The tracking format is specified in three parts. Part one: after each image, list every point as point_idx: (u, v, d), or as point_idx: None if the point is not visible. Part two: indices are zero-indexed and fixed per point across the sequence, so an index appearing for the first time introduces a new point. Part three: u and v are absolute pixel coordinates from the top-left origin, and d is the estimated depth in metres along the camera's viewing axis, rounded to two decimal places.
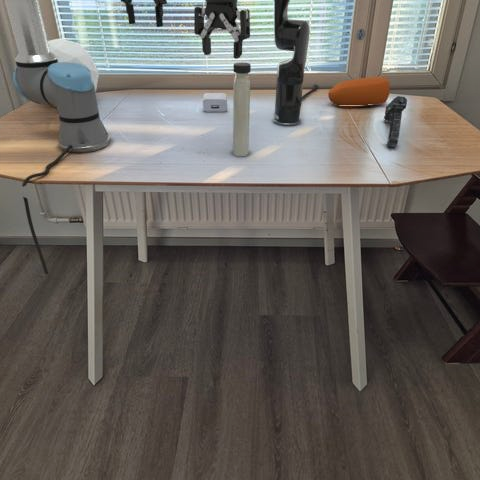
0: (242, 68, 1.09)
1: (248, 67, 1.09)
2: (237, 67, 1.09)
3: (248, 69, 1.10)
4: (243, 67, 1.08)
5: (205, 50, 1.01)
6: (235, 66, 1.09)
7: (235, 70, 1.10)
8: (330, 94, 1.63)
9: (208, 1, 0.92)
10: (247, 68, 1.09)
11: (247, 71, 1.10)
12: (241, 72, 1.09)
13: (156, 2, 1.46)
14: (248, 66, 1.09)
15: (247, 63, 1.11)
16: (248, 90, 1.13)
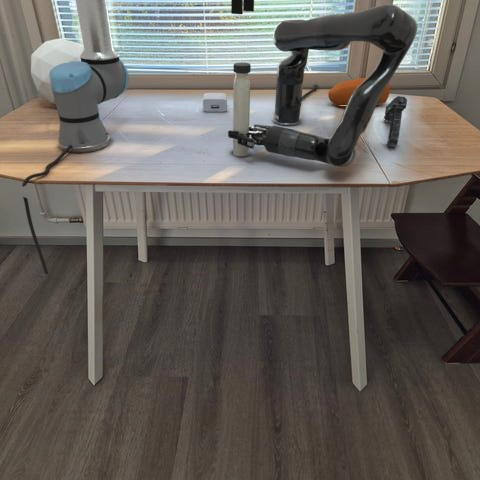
0: (242, 68, 1.09)
1: (248, 67, 1.09)
2: (237, 67, 1.09)
3: (248, 69, 1.10)
4: (243, 67, 1.08)
5: None
6: (235, 66, 1.09)
7: (235, 70, 1.10)
8: (330, 94, 1.63)
9: None
10: (247, 68, 1.09)
11: (247, 71, 1.10)
12: (241, 72, 1.09)
13: None
14: (248, 66, 1.09)
15: (247, 63, 1.11)
16: (248, 90, 1.13)
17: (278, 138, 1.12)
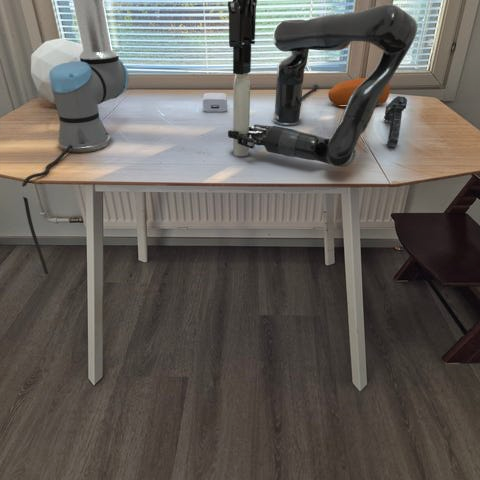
0: None
1: (248, 67, 1.09)
2: None
3: (248, 69, 1.10)
4: None
5: None
6: None
7: None
8: (330, 94, 1.63)
9: None
10: (247, 68, 1.09)
11: (247, 71, 1.10)
12: None
13: (251, 38, 1.09)
14: (248, 66, 1.09)
15: (247, 63, 1.11)
16: (248, 90, 1.13)
17: (278, 138, 1.12)
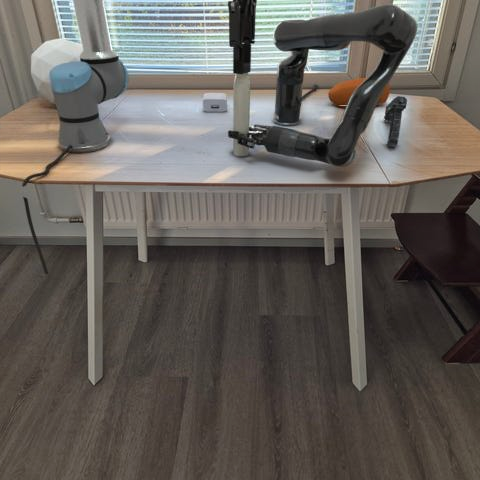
0: (250, 66, 1.10)
1: None
2: (249, 66, 1.09)
3: None
4: None
5: None
6: (247, 66, 1.09)
7: (247, 70, 1.09)
8: (330, 94, 1.63)
9: None
10: None
11: None
12: (250, 70, 1.11)
13: (251, 37, 1.09)
14: None
15: None
16: (248, 90, 1.13)
17: (278, 138, 1.12)
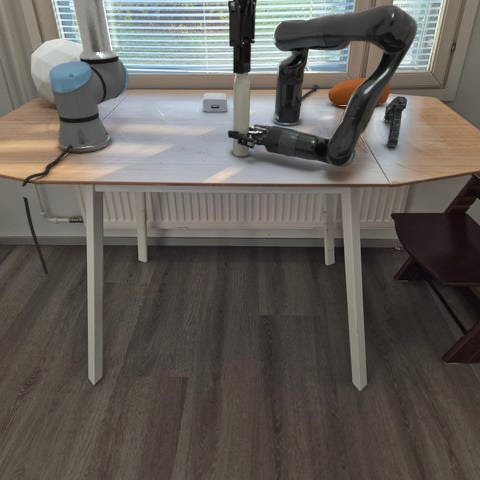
0: None
1: None
2: None
3: None
4: None
5: None
6: None
7: None
8: (330, 94, 1.63)
9: None
10: None
11: None
12: None
13: (251, 37, 1.09)
14: None
15: None
16: (248, 90, 1.13)
17: (278, 138, 1.12)
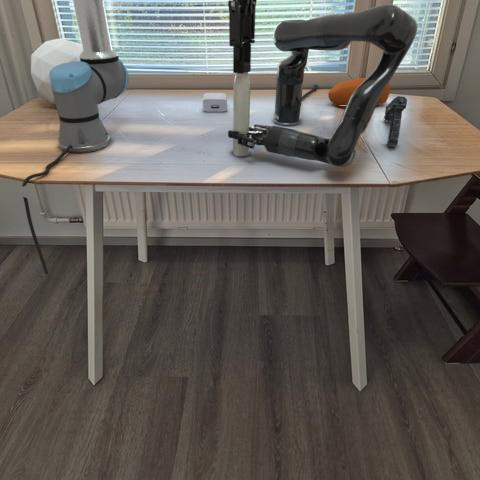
0: None
1: None
2: None
3: None
4: None
5: None
6: None
7: None
8: (330, 94, 1.63)
9: None
10: None
11: None
12: None
13: (251, 37, 1.09)
14: None
15: (245, 64, 1.09)
16: (248, 90, 1.13)
17: (278, 138, 1.12)
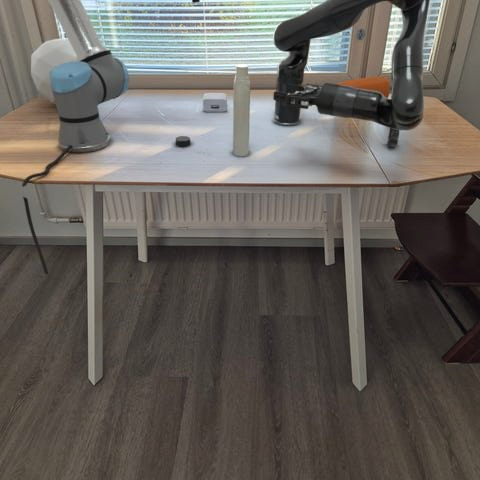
0: (189, 140, 1.29)
1: None
2: (187, 141, 1.28)
3: None
4: (189, 139, 1.29)
5: None
6: (185, 141, 1.28)
7: (186, 144, 1.28)
8: None
9: None
10: None
11: None
12: None
13: None
14: None
15: (180, 136, 1.30)
16: (248, 90, 1.13)
17: (333, 95, 0.99)
